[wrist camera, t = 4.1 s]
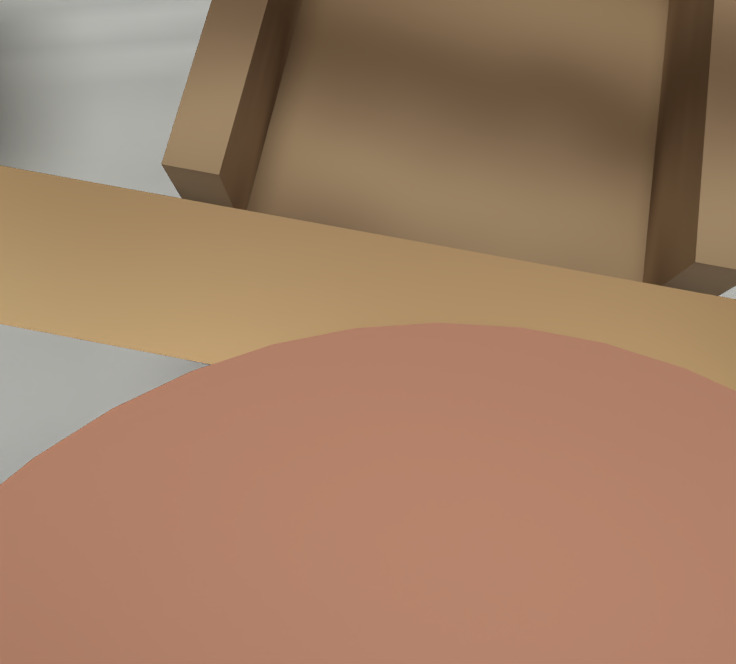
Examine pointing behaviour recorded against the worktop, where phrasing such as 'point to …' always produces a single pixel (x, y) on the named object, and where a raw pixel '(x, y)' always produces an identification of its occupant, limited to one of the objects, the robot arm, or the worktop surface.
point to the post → (386, 510)
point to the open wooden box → (478, 127)
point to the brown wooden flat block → (301, 281)
